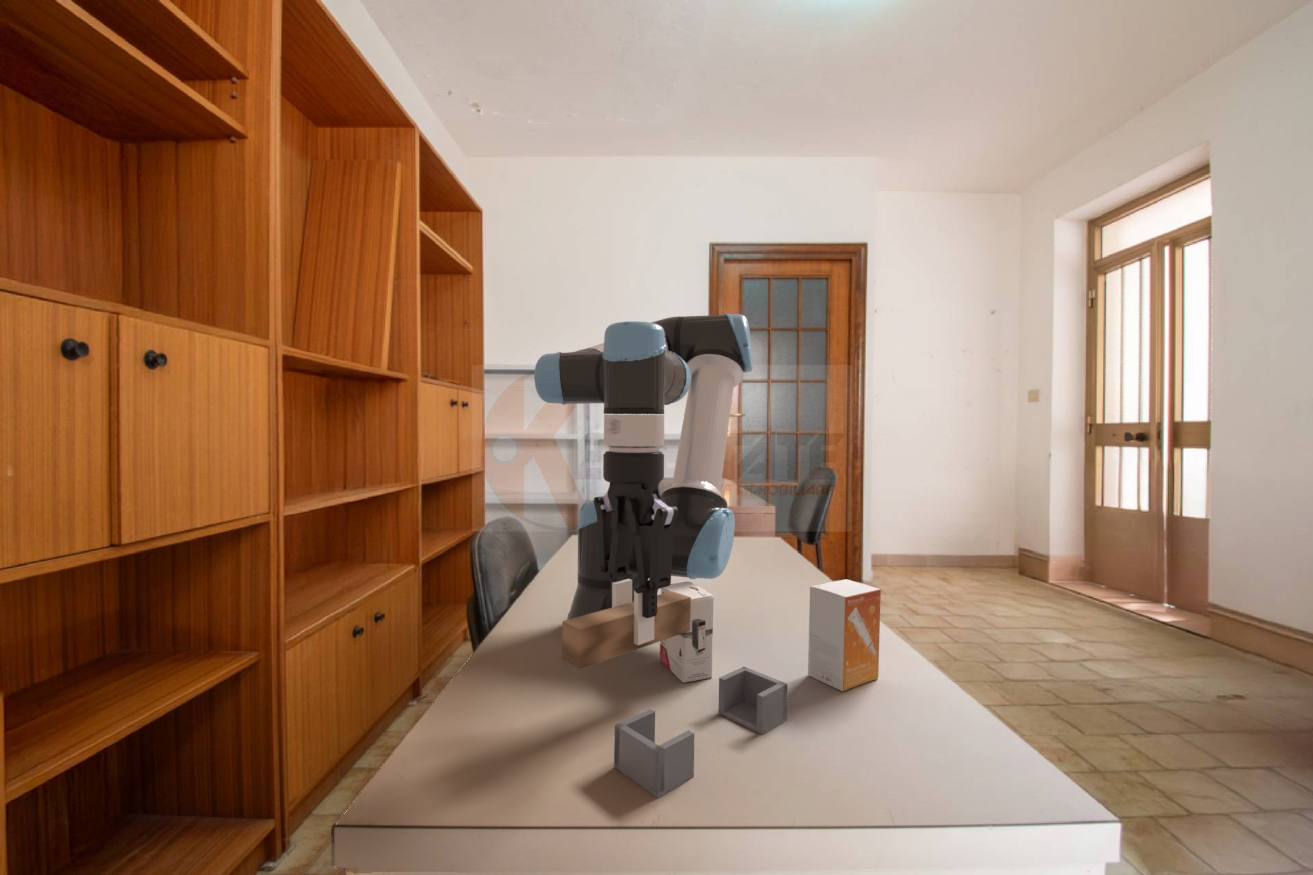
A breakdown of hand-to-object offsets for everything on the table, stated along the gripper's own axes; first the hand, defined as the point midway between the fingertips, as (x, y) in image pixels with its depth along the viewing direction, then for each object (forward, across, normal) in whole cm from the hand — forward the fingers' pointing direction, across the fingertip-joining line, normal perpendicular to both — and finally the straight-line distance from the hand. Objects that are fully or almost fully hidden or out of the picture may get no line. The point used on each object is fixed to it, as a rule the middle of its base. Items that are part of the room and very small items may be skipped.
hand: (632, 635), depth 70 cm
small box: (+10, +13, +28) cm, 33 cm away
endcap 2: (+9, +11, +10) cm, 18 cm away
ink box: (+10, -4, +13) cm, 17 cm away
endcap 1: (+9, +11, -7) cm, 16 cm away
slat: (+1, 0, 0) cm, 1 cm away
